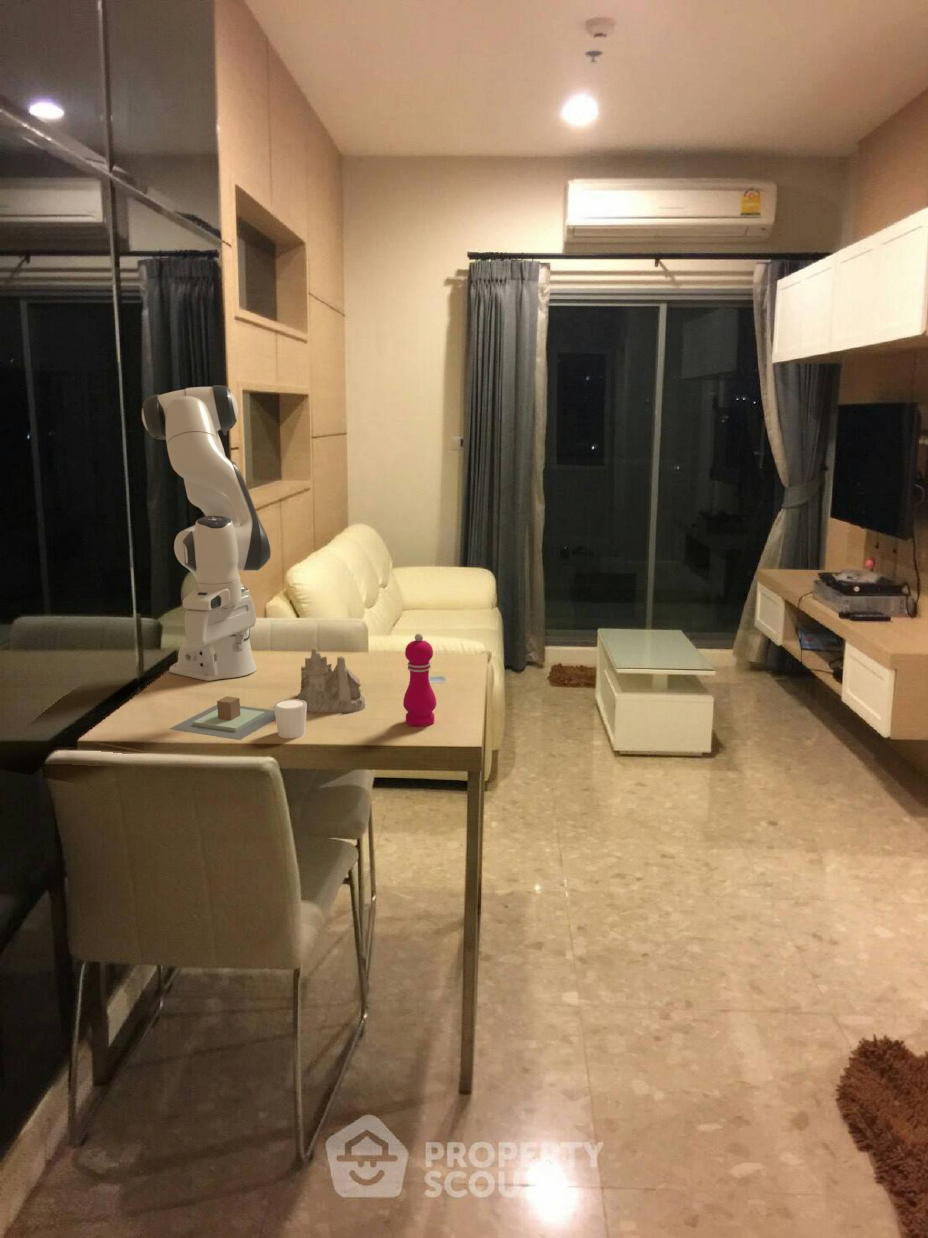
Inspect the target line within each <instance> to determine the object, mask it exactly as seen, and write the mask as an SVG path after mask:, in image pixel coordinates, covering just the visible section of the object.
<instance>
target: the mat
mask: <svg viewBox="0 0 928 1238" xmlns="http://www.w3.org/2000/svg"><path fill="white" fill-rule="evenodd" d="M217 709H218V708H217V704H216V705H213V706H211V707H210V708H208V709H206V710H204V711H201V712H199V713H198V714H195V715H194V716H191V717H189V718H187V719H186V720H183V721H182V722H179V723H178V724H176V725H174V726H171V727H170V728H169V730H175V731H180V732H181V731H182V732H185V733H186V732H187V733H193V734H201V735H206V736H211V737H213V736H214V737H218V738H226V739H232V740H239V741H241V740H244V738H246V737H248V736H249V735H251V734H253V733H255V732H256V731H257V732H258V730H259V729H261V728H263V727H266V726H268V724H270V723H272V722H274V721H276V717H275V710H274V709H273V710H272V709H266V708H258V707H252V706H245V705H240V709H247V710H254V711H261V712H265V716H263V717H261V718H260V719H258V720H256V721H254V722H253V723H251V724H249V725H247V726H246V727H244V728H242V729H240V730H239V731H237V732H233V731H227V730H220V729H213V728H207V727H200V726H194V725H193V722H194V721H196V720H198V719H200V718H201V717H203V716H205V715H207V714H209V713H211V712H213V711H215V710H217Z"/></svg>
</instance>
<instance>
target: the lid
mask: <svg viewBox="0 0 928 1238" xmlns="http://www.w3.org/2000/svg"><path fill="white" fill-rule="evenodd" d="M216 705H217V708H218V709H217V710H215V711H213V712H211V713H209V714H207V715H205V716H203V717H201V718H200V719H198V720H196V721H194V722H193V725H194V726H200V727H207V728H213V729H220V730H227V731H233V732H237V731H239V730H240V729H242V728H244V727H246V726H247V725H249V724H251V723H253V722H254V721H256V720H258V719H260V718H261V717H263V716H265V712H261V711H254V710H247V709H240V706H241V702H240V697H236V696H235V697H233V696H227V695H226V696H224V697H222V698H220V699H218V700H217V701H216Z"/></svg>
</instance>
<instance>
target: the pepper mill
mask: <svg viewBox="0 0 928 1238" xmlns="http://www.w3.org/2000/svg"><path fill="white" fill-rule="evenodd" d="M404 655H405V658H406V660H408V662H407V670H408V671H409V681H408V686H407V689H406V691H405V693H404V696H403V703H402V704H403V705H402V706H403V708H404V710H406V712H407V713H406V714H405V723H406V724H407V725H408V726H411V727H416V728H417V727H418V728H419V727H421V728H422V727H423V728H424V727H428V726H431V725H433V724H434V723H435V713H434V712H433V711H435V709H436V707H437V698H436V695H435V692H434V691H433V688H432V686H431V682H430V675H429V674H430V673H429V672H430V670H431V669H432V667H431V664H432V663H431V661H430V660H432V658H433V656H434V651H433V646H432V645H431V644H430V643H429V642H428V641H426V640H424V636H423V634H421V633H415V635H414V640H412V641H410V642H409V643H408V644H407V645H406V647H405V651H404Z"/></svg>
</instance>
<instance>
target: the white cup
mask: <svg viewBox="0 0 928 1238" xmlns="http://www.w3.org/2000/svg"><path fill="white" fill-rule="evenodd" d="M273 710H274V711H275V717H276V719H275V721H276V722H275V723H276V728H277V730H276V731H277V735H278V737H279V738H282V739H297V738H300V737H303V736H304V735H305V734H306V732H307V731H306V729H307V712H308V711H307V703H306V702H305V701H303V700H299V699H297V698H290V699H283V700H279V701H277V702H275V703H274V704H273Z"/></svg>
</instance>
